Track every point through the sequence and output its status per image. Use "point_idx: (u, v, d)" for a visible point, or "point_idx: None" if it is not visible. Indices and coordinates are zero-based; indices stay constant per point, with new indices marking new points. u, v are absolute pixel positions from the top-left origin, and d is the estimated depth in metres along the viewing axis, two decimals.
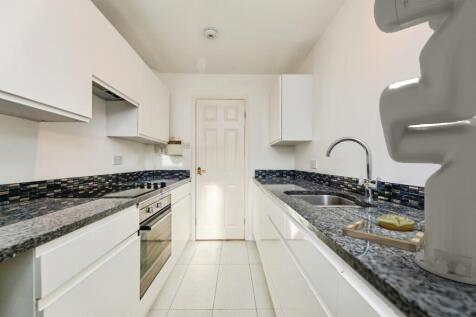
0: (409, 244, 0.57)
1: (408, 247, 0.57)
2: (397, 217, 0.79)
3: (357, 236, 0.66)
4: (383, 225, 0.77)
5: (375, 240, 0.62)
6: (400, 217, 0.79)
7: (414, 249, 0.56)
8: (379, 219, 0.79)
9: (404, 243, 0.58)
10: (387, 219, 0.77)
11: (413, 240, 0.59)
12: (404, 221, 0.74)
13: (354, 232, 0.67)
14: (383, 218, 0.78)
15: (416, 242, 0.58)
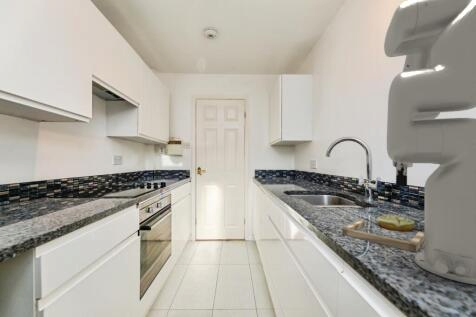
0: (409, 244, 0.57)
1: (408, 247, 0.57)
2: (397, 217, 0.79)
3: (357, 236, 0.66)
4: (383, 225, 0.77)
5: (375, 240, 0.62)
6: (400, 217, 0.79)
7: (414, 249, 0.56)
8: (379, 219, 0.79)
9: (404, 243, 0.58)
10: (387, 219, 0.77)
11: (413, 240, 0.59)
12: (404, 221, 0.74)
13: (354, 232, 0.67)
14: (383, 218, 0.78)
15: (416, 242, 0.58)
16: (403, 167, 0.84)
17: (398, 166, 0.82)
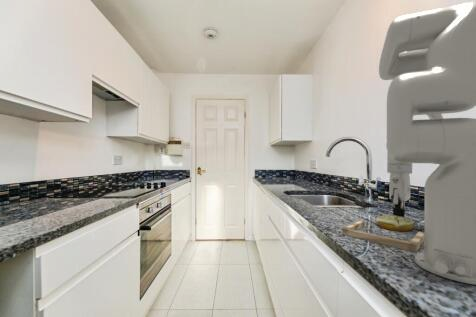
0: (409, 244, 0.57)
1: (408, 247, 0.57)
2: (396, 217, 0.79)
3: (357, 236, 0.66)
4: (382, 225, 0.77)
5: (375, 240, 0.62)
6: (399, 217, 0.79)
7: (414, 249, 0.56)
8: (378, 219, 0.79)
9: (404, 243, 0.58)
10: (386, 219, 0.76)
11: (413, 240, 0.59)
12: (403, 221, 0.74)
13: (354, 232, 0.67)
14: (382, 218, 0.78)
15: (416, 242, 0.58)
16: (400, 200, 0.81)
17: (395, 200, 0.79)
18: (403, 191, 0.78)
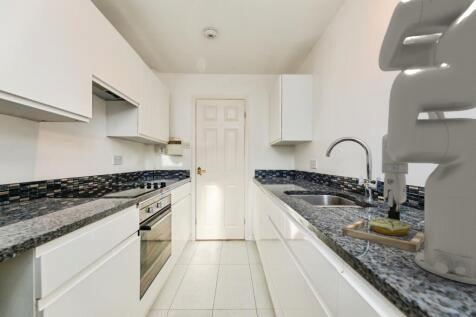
0: (409, 244, 0.57)
1: (408, 247, 0.57)
2: (391, 220, 0.74)
3: (357, 236, 0.66)
4: (376, 229, 0.72)
5: (375, 240, 0.62)
6: (394, 220, 0.74)
7: (414, 249, 0.56)
8: (372, 223, 0.74)
9: (404, 243, 0.58)
10: (380, 223, 0.71)
11: (413, 240, 0.59)
12: (398, 225, 0.69)
13: (354, 232, 0.67)
14: (376, 222, 0.73)
15: (416, 242, 0.58)
16: (395, 203, 0.76)
17: (390, 202, 0.75)
18: (398, 193, 0.73)
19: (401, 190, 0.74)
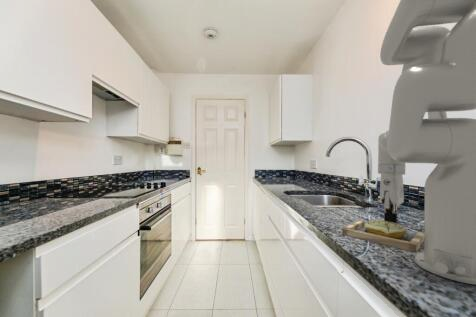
0: (409, 244, 0.57)
1: (408, 247, 0.57)
2: (387, 223, 0.71)
3: (357, 236, 0.66)
4: (371, 232, 0.69)
5: (375, 240, 0.62)
6: (390, 223, 0.71)
7: (414, 249, 0.56)
8: (367, 225, 0.71)
9: (404, 243, 0.58)
10: (375, 226, 0.68)
11: (413, 240, 0.59)
12: (394, 228, 0.66)
13: (354, 232, 0.67)
14: (371, 224, 0.70)
15: (416, 242, 0.58)
16: (392, 204, 0.73)
17: (386, 204, 0.71)
18: (395, 194, 0.70)
19: (398, 191, 0.71)
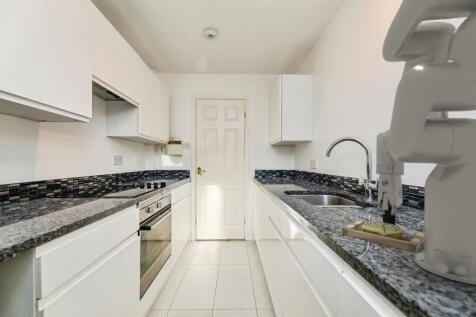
0: (409, 244, 0.57)
1: (408, 247, 0.57)
2: (384, 224, 0.70)
3: (357, 236, 0.66)
4: None
5: (375, 240, 0.62)
6: (387, 224, 0.69)
7: (414, 249, 0.56)
8: (363, 227, 0.69)
9: (404, 243, 0.58)
10: (371, 227, 0.67)
11: (413, 240, 0.59)
12: (390, 229, 0.64)
13: (354, 232, 0.67)
14: (367, 226, 0.68)
15: (416, 242, 0.58)
16: (390, 206, 0.71)
17: (384, 205, 0.70)
18: (393, 195, 0.68)
19: (396, 192, 0.69)
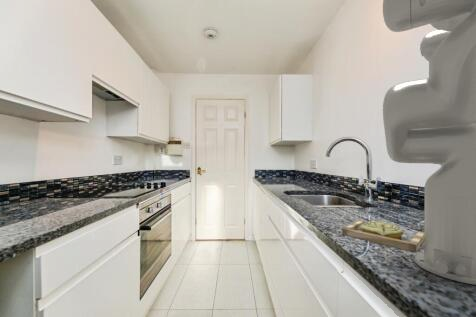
0: (409, 244, 0.57)
1: (408, 247, 0.57)
2: (383, 224, 0.70)
3: (357, 236, 0.66)
4: None
5: (375, 240, 0.62)
6: (387, 224, 0.69)
7: (414, 249, 0.56)
8: (362, 226, 0.69)
9: (404, 243, 0.58)
10: (371, 227, 0.67)
11: (413, 240, 0.59)
12: (390, 229, 0.64)
13: (354, 232, 0.67)
14: (367, 225, 0.68)
15: (416, 242, 0.58)
16: None
17: None
18: None
19: None
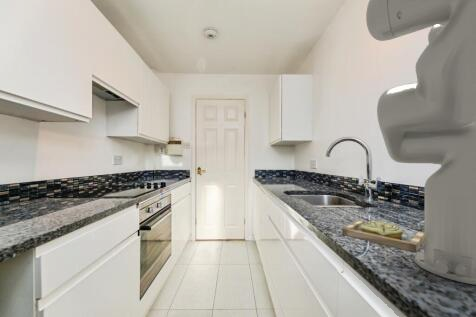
0: (409, 244, 0.57)
1: (408, 247, 0.57)
2: (383, 224, 0.70)
3: (357, 236, 0.66)
4: None
5: (375, 240, 0.62)
6: (387, 224, 0.69)
7: (414, 249, 0.56)
8: (362, 226, 0.69)
9: (404, 243, 0.58)
10: (371, 227, 0.67)
11: (413, 240, 0.59)
12: (390, 229, 0.64)
13: (354, 232, 0.67)
14: (367, 225, 0.68)
15: (416, 242, 0.58)
16: None
17: None
18: None
19: None
